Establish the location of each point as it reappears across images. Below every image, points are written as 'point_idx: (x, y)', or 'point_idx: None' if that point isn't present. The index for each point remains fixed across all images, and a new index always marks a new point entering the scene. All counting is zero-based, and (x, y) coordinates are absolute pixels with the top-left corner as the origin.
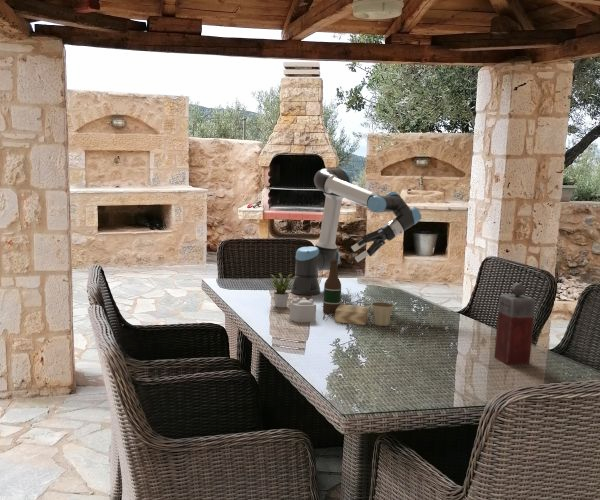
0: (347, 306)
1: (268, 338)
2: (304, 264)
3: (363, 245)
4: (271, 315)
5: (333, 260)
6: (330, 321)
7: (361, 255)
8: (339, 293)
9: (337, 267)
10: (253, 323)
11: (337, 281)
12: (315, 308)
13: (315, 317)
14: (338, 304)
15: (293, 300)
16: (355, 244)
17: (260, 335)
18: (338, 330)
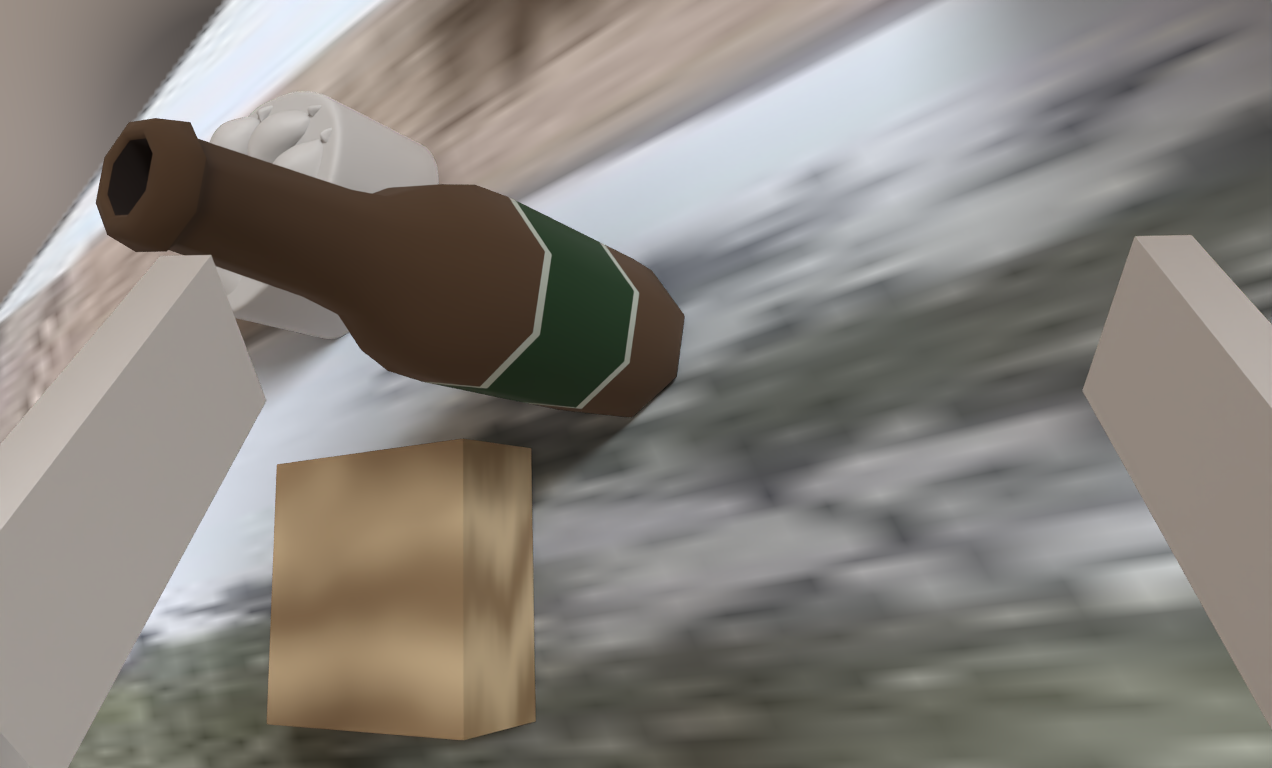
0: (415, 525)
1: (48, 268)
2: None
3: (88, 679)
4: (372, 23)
5: (99, 186)
6: (354, 437)
7: (1223, 467)
8: (475, 390)
9: (243, 266)
10: (209, 60)
11: (355, 339)
12: (244, 319)
13: (310, 333)
14: (540, 405)
15: (211, 139)
16: (84, 370)
17: (72, 214)
18: (200, 546)
